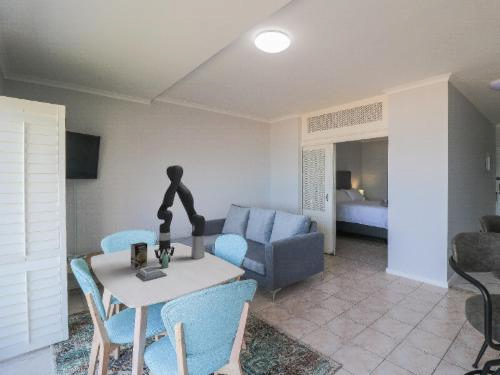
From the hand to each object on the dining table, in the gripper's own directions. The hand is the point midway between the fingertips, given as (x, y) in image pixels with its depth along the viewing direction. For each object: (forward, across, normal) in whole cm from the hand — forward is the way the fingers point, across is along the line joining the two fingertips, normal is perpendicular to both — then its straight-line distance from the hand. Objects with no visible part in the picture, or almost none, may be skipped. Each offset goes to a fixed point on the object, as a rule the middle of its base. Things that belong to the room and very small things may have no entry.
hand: (164, 263), depth 183 cm
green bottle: (+3, 0, 0) cm, 3 cm away
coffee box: (+3, +13, -12) cm, 18 cm away
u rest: (+3, +13, +9) cm, 16 cm away
